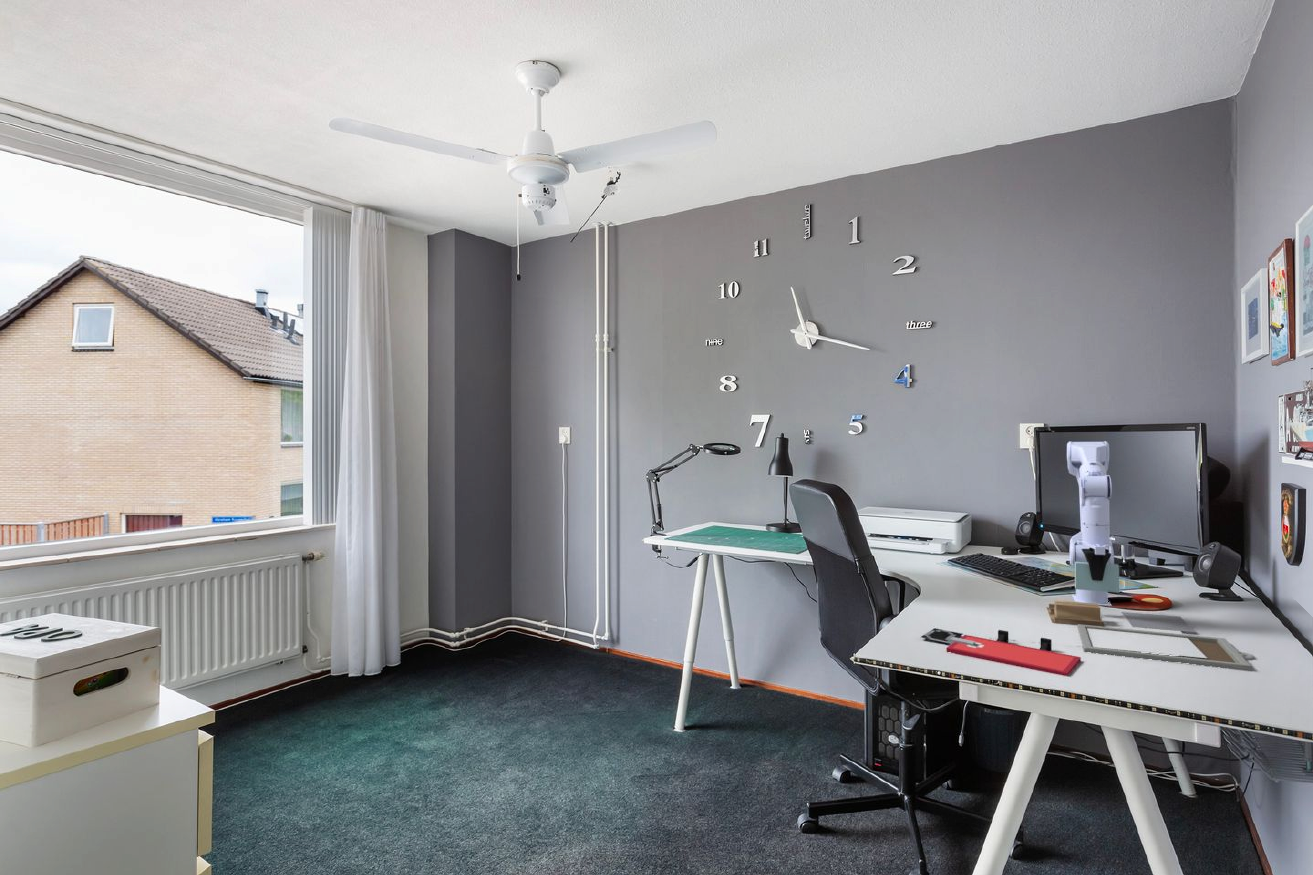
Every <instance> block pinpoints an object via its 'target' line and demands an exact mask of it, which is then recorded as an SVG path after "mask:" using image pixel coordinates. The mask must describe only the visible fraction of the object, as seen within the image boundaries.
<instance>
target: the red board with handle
mask: <svg viewBox="0 0 1313 875" xmlns="http://www.w3.org/2000/svg"><path fill="white" fill-rule="evenodd" d="M920 638H921V639H927V640H930V641H931V640H932V641H937V642H942V643H947V644H949V645H948V646H947V647H946V653H948V652H951V653H950V654H953V653H954V654H953V655H958V656H965V657H970V658H974V659H980V660H984V661H989V662H994V663H999V664H1003V665H1008V666H1014V667H1020V668H1024V669H1027V670H1028V669H1029V670H1033V671H1038V672H1043V673H1049V674H1053V675H1058V676H1064V677H1069V675H1070V674H1071V673H1072V671H1074V670H1075V669H1076V667H1078V665H1079V664H1080V663H1081V661H1082V660H1081V659H1082V658H1081V656H1076V655H1071V654H1067V653H1066V654H1065V653H1062V652H1061V653H1060V652H1055V651H1052V648H1053V647H1052V646H1053V645H1052V639H1051V638H1045V637H1041V638H1040V647H1039V648H1035V647H1030V646H1025V645H1019V644H1015V643H1009V631H1008V630H1003V629H998V631H997V639H996V640H994V639H988V638H983V637H980V636H979V637H978V636H974V635H969V634H964V633H962V632H961V633H960V632H956V631H950V630H945V629H941V628H940V629H939V628H932V629H931V630H929V631H927V632H926V633H924V634H923V635H921V636H920ZM1078 663H1079V664H1078Z"/></svg>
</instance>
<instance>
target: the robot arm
mask: <svg viewBox="0 0 1313 875" xmlns="http://www.w3.org/2000/svg"><path fill="white" fill-rule="evenodd" d="M1066 461H1067V462H1066V463H1067V470H1068V473H1069V474H1070V475H1072V476H1074V477H1076V481H1077V484H1078V491H1079V493H1078V494H1079V514H1080V515H1079V516H1080V517H1079V518H1080V520H1079V521H1080V531H1079V532H1078V533H1076V534H1074V535H1073V536H1072V537H1071V538H1070V540H1069V564H1070V566H1072V567H1073V568H1075V562H1088V564H1089V568H1090V574H1091V578H1092V580H1096V581H1102V580H1103V577H1104V572H1105V568H1106V564H1115V555H1114V554H1115V552H1114V547H1113V541H1112V540H1111V537H1110V536H1111V535H1110V534H1111V533H1110V530H1111V528H1110V524H1111V523H1110V499H1111V498H1112V493H1113V484H1112V479H1111V475H1109V474H1107V473H1108V469H1109V462H1110V444H1109V442H1108V441H1106V440H1104V441H1068V442H1067V443H1066ZM1108 498H1109V499H1108ZM1071 596H1072V598H1073V599H1074V602H1082V603H1095V604H1098V605H1099V606H1106V607H1112V604H1111V601H1109V599H1108V598H1109V592H1106V591H1093V590H1079V589H1076V588H1075V594H1072V595H1071ZM1108 601H1109V602H1108Z"/></svg>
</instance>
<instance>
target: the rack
mask: <svg viewBox="0 0 1313 875" xmlns="http://www.w3.org/2000/svg"><path fill="white" fill-rule="evenodd" d="M1046 610H1047V613H1048V615H1049V618H1050V620H1051V622H1052V624H1056V625H1067V626H1070V625H1071V626H1077V625H1078V624H1081V625H1091V626H1102V627H1107V626H1106V624H1105V621H1104V620H1103V619H1102V618H1101V617H1100V621H1098V620H1086V619H1075V618H1063V617H1055V616H1054V603H1048V607H1047V606H1046Z"/></svg>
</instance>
